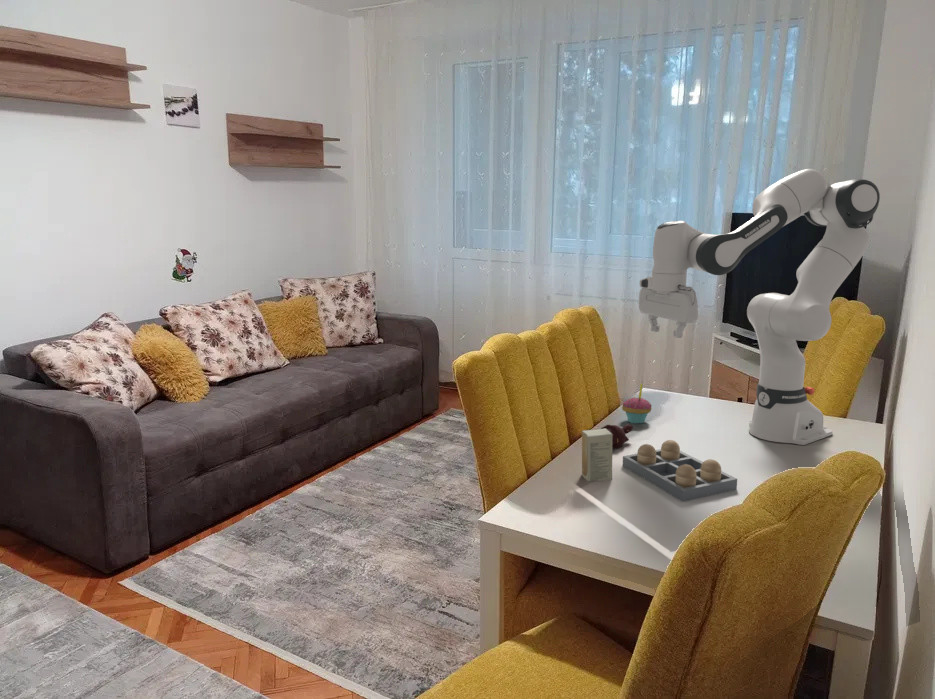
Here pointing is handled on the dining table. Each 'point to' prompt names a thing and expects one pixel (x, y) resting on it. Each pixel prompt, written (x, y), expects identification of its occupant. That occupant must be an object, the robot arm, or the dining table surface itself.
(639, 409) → the cupcake
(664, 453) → the wooden egg
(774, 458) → the dining table surface
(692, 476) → the seated egg
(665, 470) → the egg carton
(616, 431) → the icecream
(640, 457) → the seated egg
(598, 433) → the skincare box
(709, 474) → the seated egg
